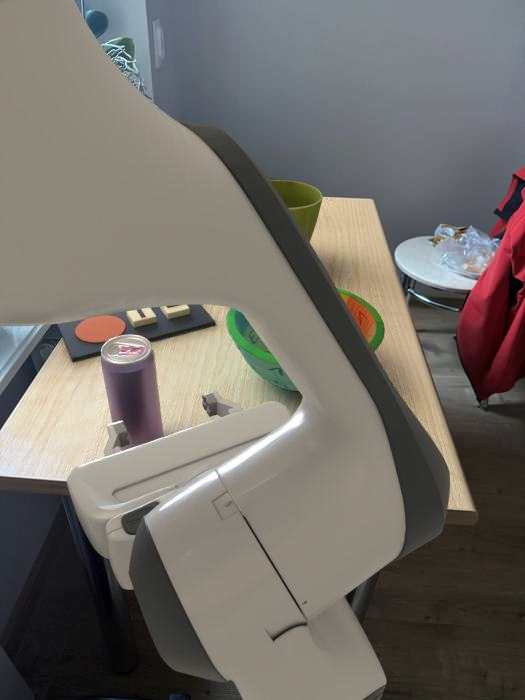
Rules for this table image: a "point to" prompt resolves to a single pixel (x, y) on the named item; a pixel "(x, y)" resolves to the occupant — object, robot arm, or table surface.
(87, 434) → the table surface
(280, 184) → the flower pot
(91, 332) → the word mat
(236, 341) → the bowl
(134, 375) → the beverage can
